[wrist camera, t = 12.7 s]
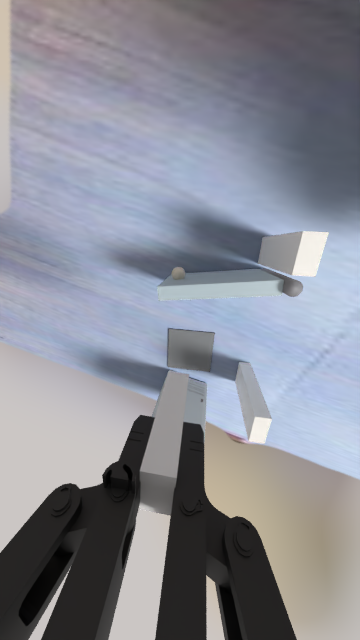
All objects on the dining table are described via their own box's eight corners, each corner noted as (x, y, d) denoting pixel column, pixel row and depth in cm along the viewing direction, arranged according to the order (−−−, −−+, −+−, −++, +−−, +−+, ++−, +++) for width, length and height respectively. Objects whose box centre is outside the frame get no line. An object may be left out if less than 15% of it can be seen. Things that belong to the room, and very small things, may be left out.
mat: (169, 328, 34) (168, 329, 34) (214, 332, 33) (214, 333, 33) (168, 366, 37) (167, 367, 37) (209, 371, 36) (209, 371, 36)
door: (270, 257, 28) (306, 263, 18) (268, 278, 29) (301, 296, 19) (170, 264, 30) (153, 273, 20) (172, 284, 31) (157, 302, 21)
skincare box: (207, 382, 37) (208, 463, 23) (196, 404, 40) (192, 489, 26) (166, 368, 37) (144, 440, 23) (158, 390, 39) (133, 468, 26)
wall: (262, 237, 27) (303, 231, 16) (277, 237, 27) (328, 232, 16) (235, 381, 36) (248, 441, 25) (246, 382, 36) (264, 443, 25)
